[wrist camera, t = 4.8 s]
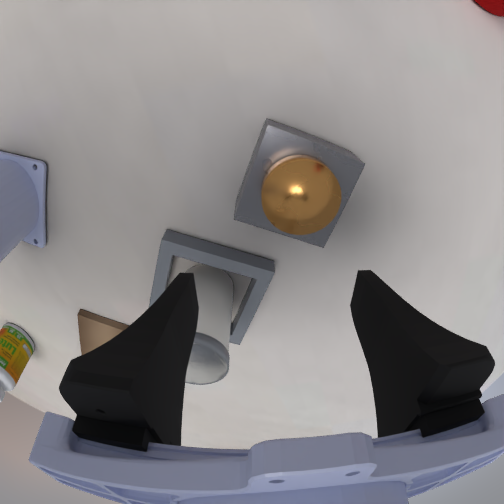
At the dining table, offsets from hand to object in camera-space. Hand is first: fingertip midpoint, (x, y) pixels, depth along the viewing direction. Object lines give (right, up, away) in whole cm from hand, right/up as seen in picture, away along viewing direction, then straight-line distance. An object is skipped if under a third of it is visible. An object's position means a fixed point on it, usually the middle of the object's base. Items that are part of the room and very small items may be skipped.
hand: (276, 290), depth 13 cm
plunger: (+2, +6, +6) cm, 9 cm away
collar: (-5, -1, +12) cm, 13 cm away
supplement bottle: (-31, -9, +17) cm, 37 cm away
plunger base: (+2, +7, +7) cm, 10 cm away
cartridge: (-5, -1, +12) cm, 13 cm away
